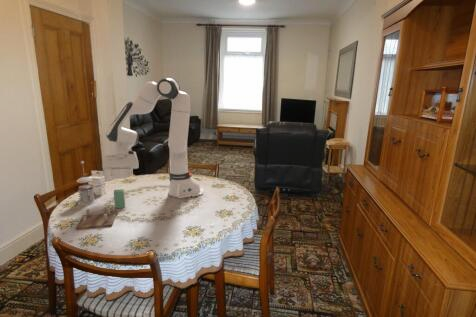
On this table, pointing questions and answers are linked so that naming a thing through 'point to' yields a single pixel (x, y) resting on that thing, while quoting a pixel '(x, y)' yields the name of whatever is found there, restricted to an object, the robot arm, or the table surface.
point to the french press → (85, 191)
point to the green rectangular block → (119, 198)
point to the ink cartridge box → (98, 183)
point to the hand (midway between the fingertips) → (120, 175)
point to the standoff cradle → (96, 220)
